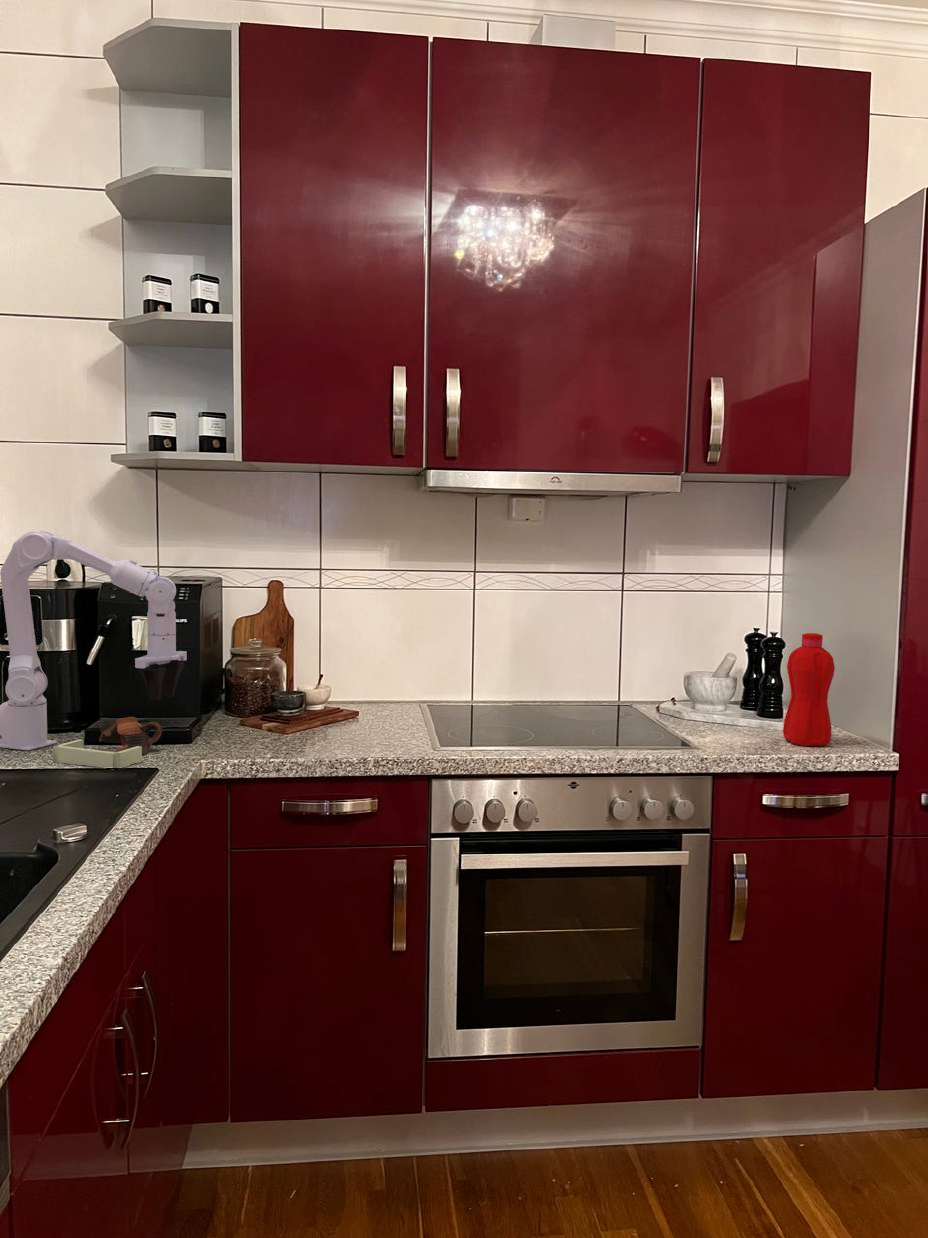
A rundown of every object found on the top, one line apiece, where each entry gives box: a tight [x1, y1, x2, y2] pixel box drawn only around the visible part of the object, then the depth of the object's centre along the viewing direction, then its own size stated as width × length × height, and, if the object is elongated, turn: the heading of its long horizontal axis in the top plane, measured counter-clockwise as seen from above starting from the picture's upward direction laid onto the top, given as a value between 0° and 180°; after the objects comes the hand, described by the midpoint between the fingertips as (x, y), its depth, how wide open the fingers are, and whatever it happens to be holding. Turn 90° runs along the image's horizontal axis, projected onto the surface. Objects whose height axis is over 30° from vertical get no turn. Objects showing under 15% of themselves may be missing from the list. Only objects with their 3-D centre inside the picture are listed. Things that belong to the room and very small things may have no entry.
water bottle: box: [782, 632, 836, 747], centre depth 212 cm, size 9×11×25 cm
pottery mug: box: [98, 716, 163, 755], centre depth 189 cm, size 12×10×8 cm
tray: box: [52, 738, 143, 768], centre depth 180 cm, size 15×7×3 cm, turn 70°
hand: (162, 698), depth 198 cm, fingers open, 4 cm apart
